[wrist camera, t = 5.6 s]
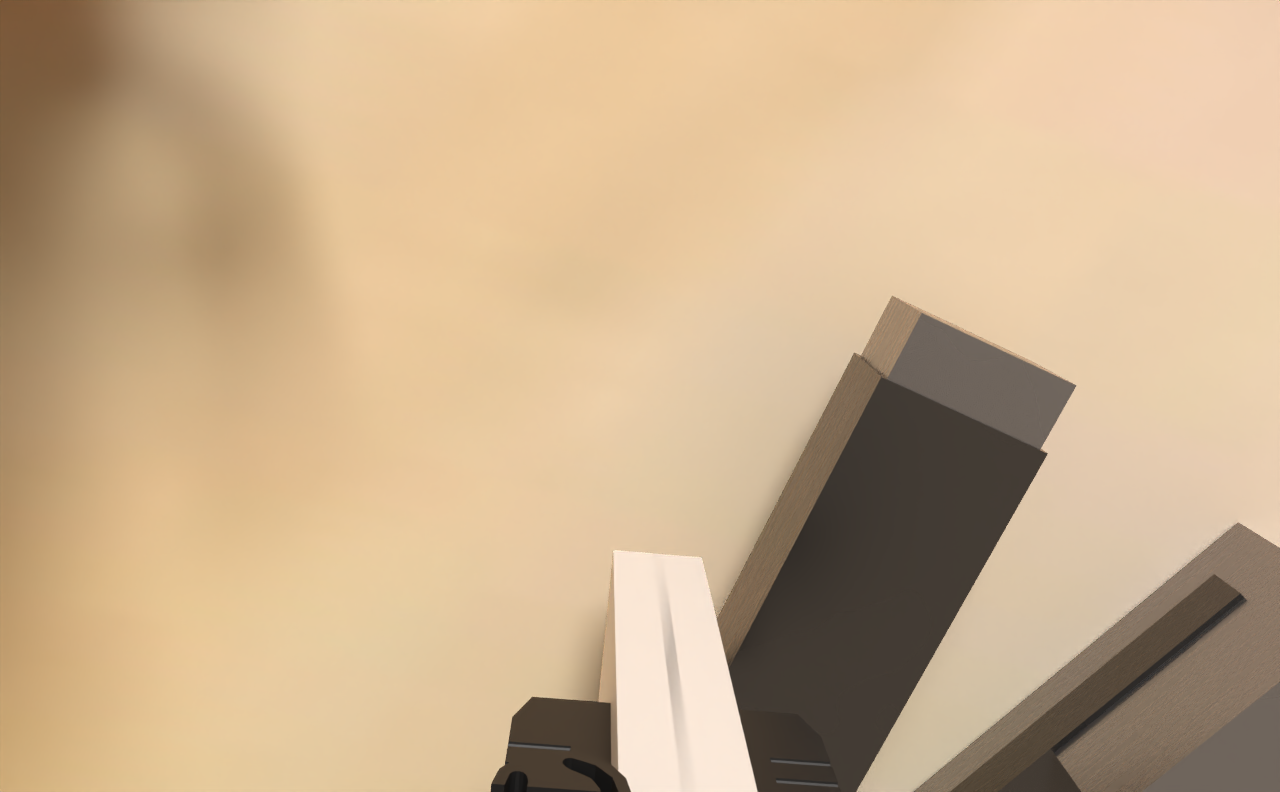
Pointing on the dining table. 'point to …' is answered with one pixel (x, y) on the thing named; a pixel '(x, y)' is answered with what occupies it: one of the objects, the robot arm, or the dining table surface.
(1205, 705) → the tongs fixed
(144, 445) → the dining table surface
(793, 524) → the tongs arm
